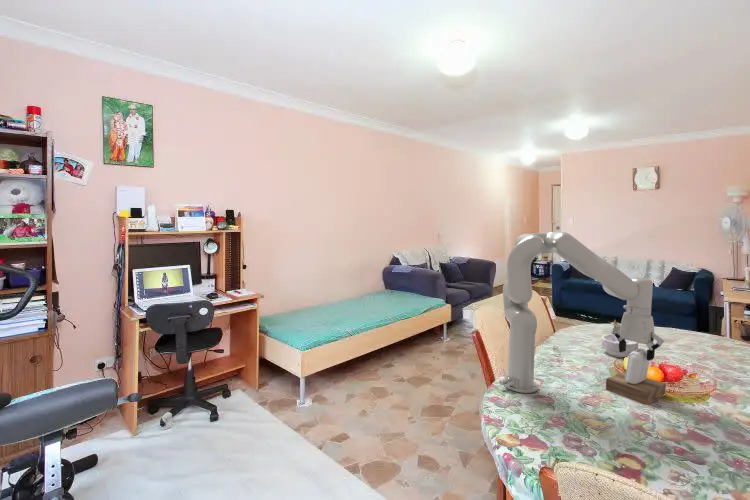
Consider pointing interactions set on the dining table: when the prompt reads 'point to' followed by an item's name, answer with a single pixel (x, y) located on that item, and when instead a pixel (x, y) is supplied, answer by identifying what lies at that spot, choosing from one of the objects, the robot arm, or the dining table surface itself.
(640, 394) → the walnut block
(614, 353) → the paper bowls
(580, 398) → the dining table surface
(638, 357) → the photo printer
